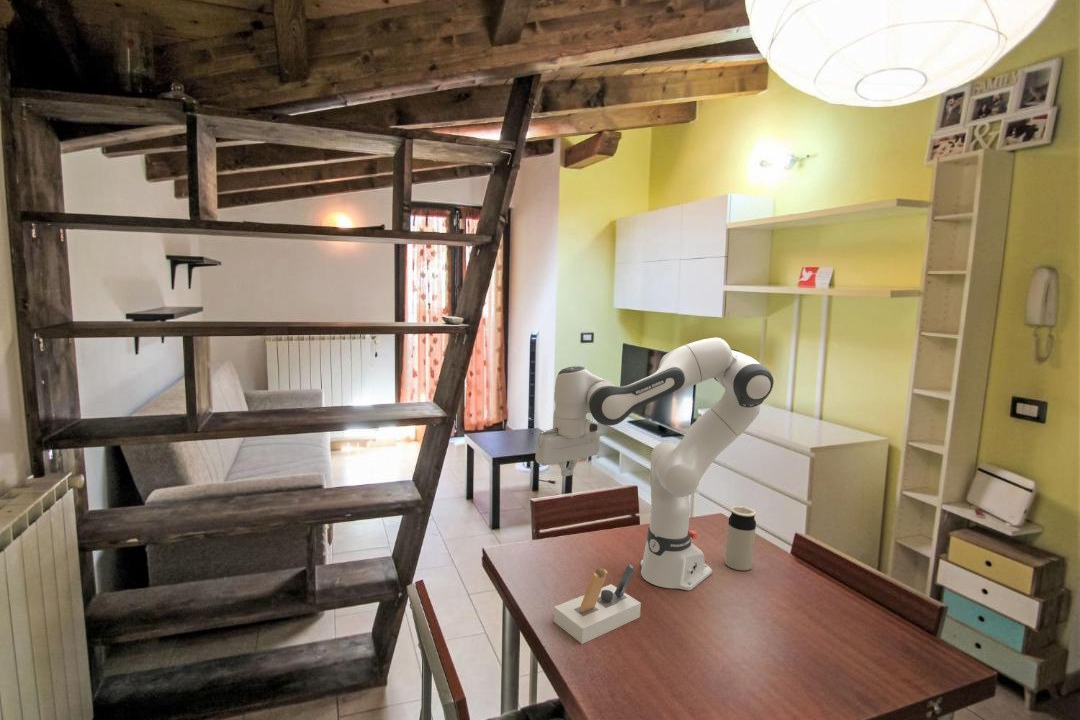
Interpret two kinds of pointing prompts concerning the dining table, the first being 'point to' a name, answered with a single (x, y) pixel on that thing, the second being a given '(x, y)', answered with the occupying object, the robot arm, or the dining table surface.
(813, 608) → the dining table surface
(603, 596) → the push button
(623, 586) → the toggle lever
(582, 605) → the paddle lever
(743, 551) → the travel mug
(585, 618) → the console
